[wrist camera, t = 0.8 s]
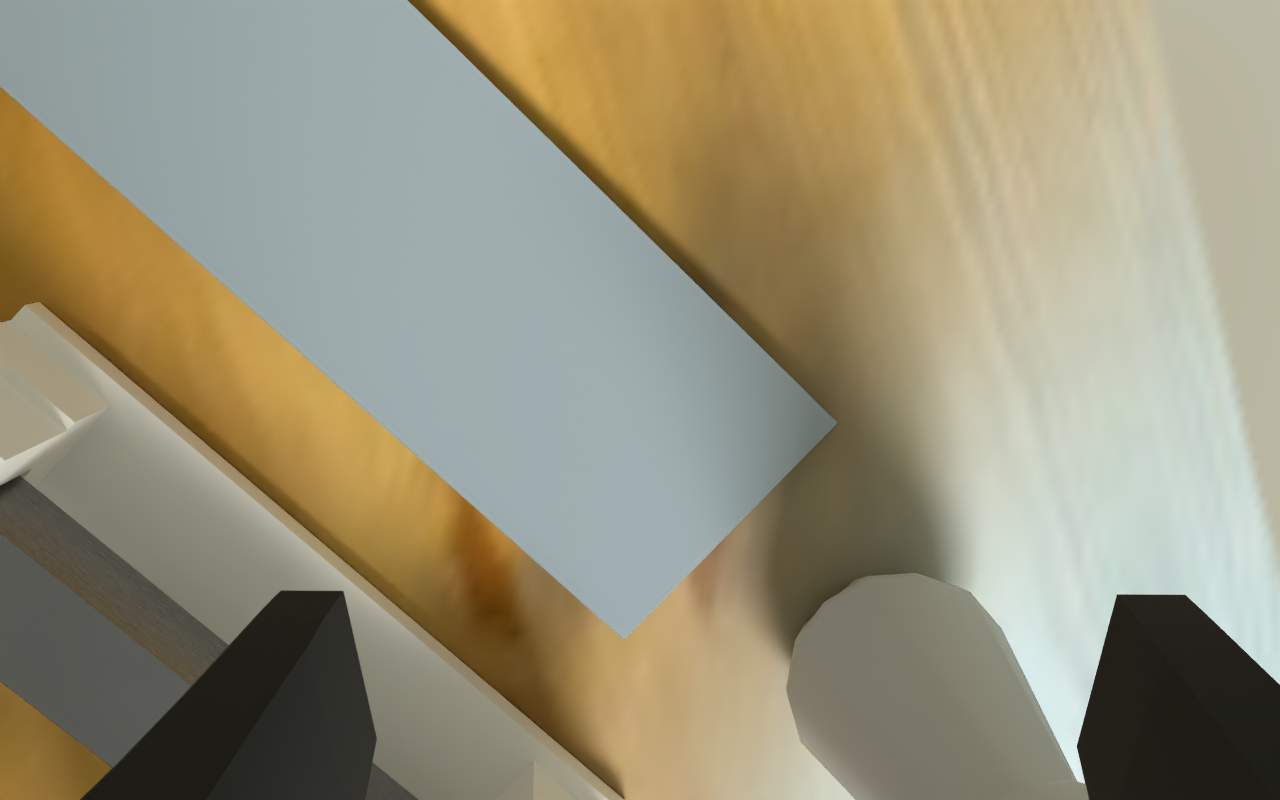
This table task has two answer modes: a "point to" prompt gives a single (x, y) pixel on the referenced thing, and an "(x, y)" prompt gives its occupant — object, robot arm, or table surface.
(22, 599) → the rail
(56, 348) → the hook stands
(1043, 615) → the table surface
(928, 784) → the salt shaker
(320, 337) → the mat
